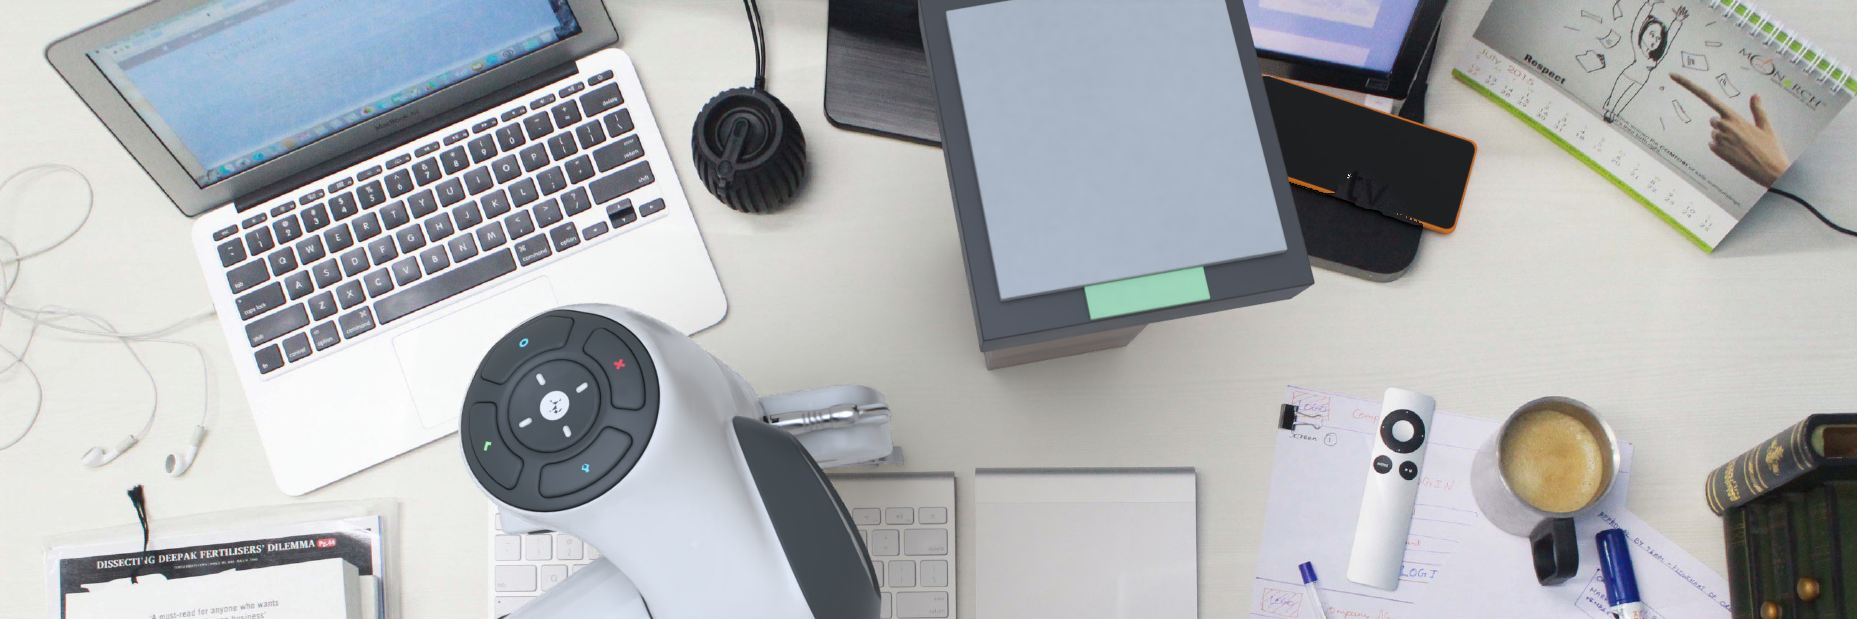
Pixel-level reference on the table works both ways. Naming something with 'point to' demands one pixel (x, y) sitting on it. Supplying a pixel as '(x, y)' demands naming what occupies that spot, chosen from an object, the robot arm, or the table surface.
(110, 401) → the table surface
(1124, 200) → the scale
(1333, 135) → the smartphone
